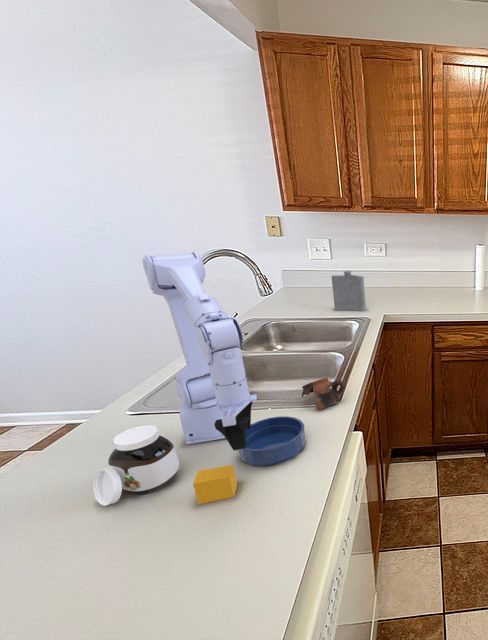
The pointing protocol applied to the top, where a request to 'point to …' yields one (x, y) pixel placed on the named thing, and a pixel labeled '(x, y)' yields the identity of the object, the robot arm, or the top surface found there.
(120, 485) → the spread jar
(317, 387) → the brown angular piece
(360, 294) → the hip flask
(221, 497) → the sponge
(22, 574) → the top surface
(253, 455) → the bowl
